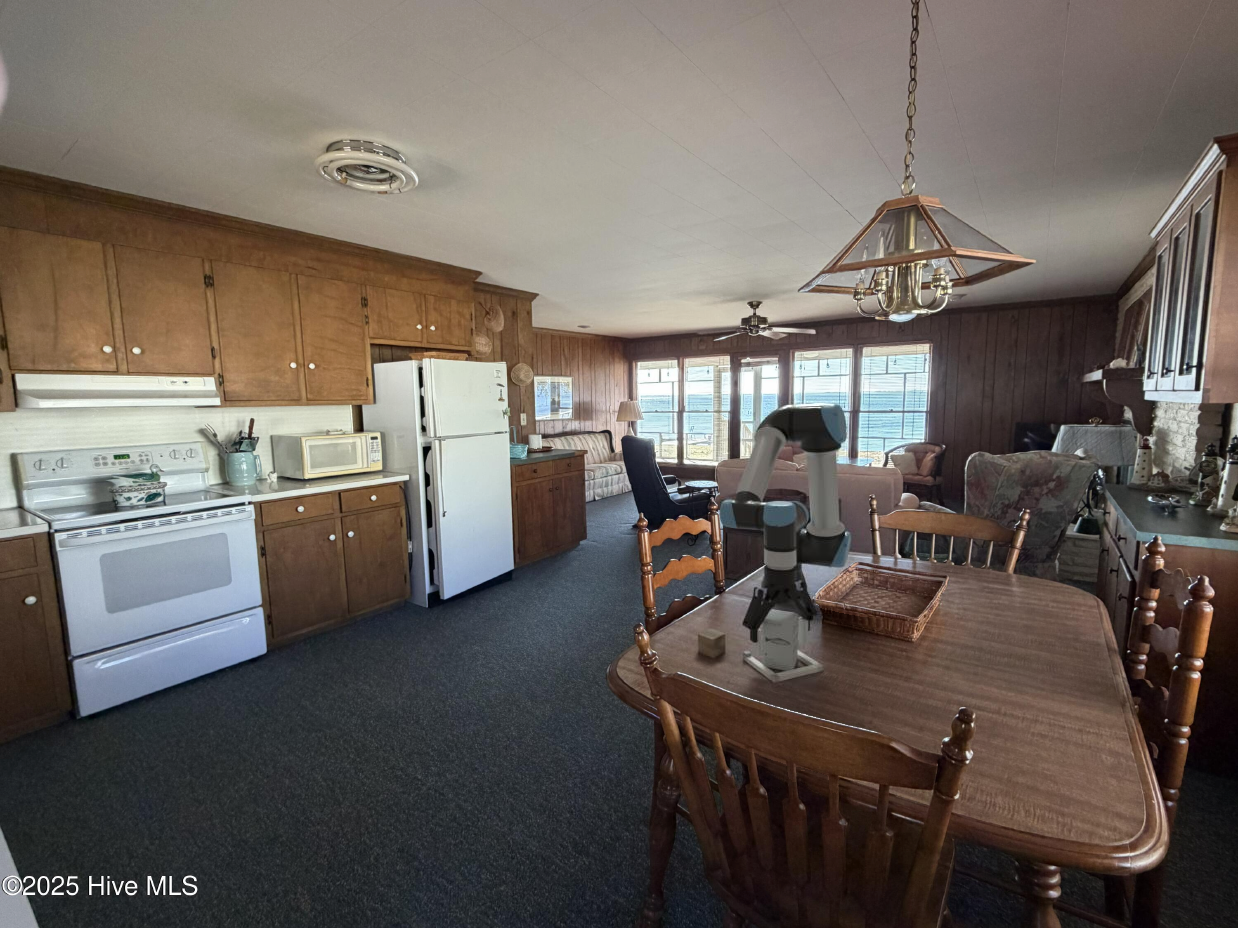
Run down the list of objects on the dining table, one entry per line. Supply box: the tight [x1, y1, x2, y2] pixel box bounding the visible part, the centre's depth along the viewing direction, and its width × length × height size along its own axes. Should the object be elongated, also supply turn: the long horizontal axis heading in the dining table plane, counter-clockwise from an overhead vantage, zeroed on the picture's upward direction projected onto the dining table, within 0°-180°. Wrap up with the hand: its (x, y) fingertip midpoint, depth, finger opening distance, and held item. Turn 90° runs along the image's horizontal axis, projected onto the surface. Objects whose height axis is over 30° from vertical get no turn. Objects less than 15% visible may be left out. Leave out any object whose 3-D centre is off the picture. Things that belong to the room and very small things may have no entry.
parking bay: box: [742, 650, 824, 684], centre depth 136 cm, size 14×13×2 cm
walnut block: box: [697, 628, 726, 659], centre depth 145 cm, size 5×5×5 cm
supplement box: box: [762, 608, 799, 672], centre depth 136 cm, size 7×7×13 cm
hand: (780, 648), depth 136 cm, fingers open, 13 cm apart
